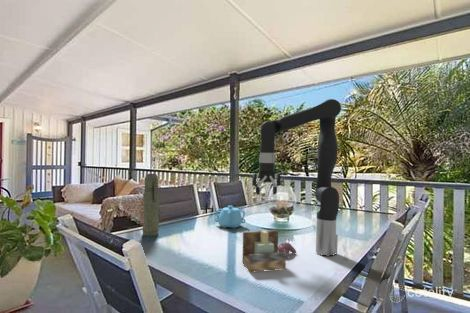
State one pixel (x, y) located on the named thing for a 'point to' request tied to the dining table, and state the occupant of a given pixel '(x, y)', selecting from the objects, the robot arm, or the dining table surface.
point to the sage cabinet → (263, 244)
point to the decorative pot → (230, 217)
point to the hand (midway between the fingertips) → (266, 194)
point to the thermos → (151, 206)
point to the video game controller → (286, 248)
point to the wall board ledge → (263, 259)
